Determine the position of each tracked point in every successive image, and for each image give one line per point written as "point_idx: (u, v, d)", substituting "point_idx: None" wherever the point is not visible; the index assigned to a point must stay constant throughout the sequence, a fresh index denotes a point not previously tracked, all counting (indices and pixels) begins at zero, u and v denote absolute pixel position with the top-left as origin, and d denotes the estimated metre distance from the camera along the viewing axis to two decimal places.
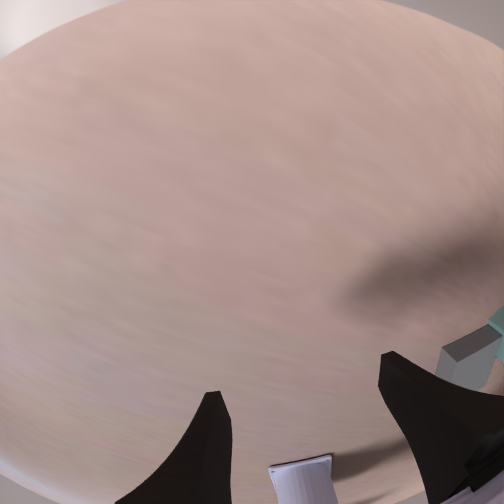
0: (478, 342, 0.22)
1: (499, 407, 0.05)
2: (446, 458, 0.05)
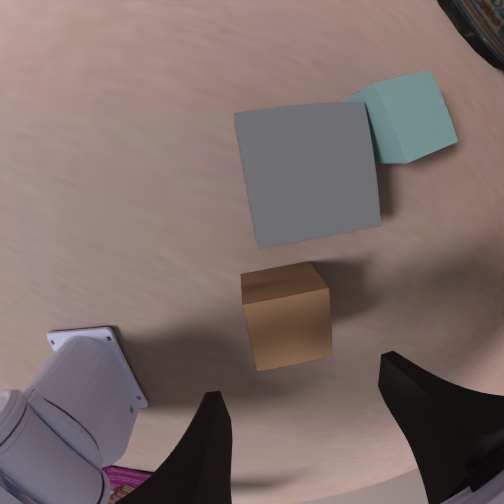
0: None
1: (499, 407, 0.05)
2: (446, 458, 0.05)
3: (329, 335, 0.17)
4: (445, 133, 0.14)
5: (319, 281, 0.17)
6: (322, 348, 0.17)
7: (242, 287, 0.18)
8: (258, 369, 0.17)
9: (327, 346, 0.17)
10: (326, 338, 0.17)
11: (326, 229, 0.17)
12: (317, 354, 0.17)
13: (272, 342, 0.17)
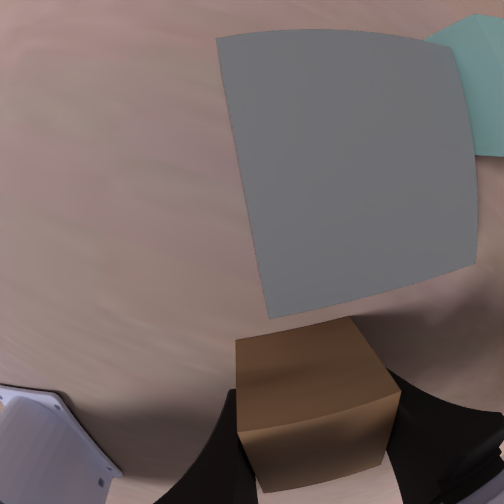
0: None
1: (476, 423, 0.05)
2: (420, 472, 0.05)
3: (383, 447, 0.08)
4: None
5: (380, 372, 0.08)
6: (368, 461, 0.08)
7: (238, 379, 0.09)
8: (266, 491, 0.08)
9: (376, 458, 0.08)
10: (378, 451, 0.08)
11: (399, 276, 0.08)
12: (359, 468, 0.08)
13: (290, 468, 0.08)
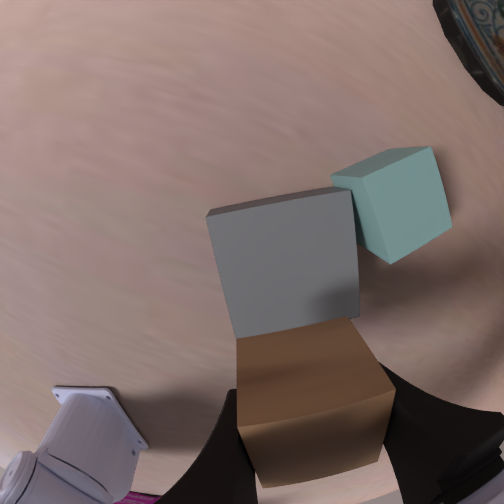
0: (283, 198, 0.16)
1: (476, 424, 0.05)
2: (420, 472, 0.05)
3: (378, 444, 0.08)
4: (438, 221, 0.14)
5: (376, 371, 0.08)
6: (365, 458, 0.08)
7: (238, 376, 0.10)
8: (265, 486, 0.09)
9: (372, 455, 0.08)
10: (374, 447, 0.08)
11: (303, 325, 0.17)
12: (356, 465, 0.09)
13: (288, 463, 0.08)
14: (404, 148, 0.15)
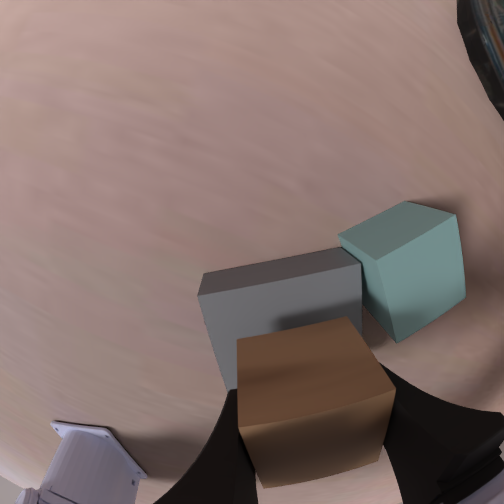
0: (284, 270, 0.14)
1: (476, 423, 0.05)
2: (420, 472, 0.05)
3: (379, 443, 0.08)
4: (452, 294, 0.12)
5: (376, 370, 0.08)
6: (366, 458, 0.08)
7: (238, 376, 0.10)
8: (265, 487, 0.09)
9: (373, 455, 0.08)
10: (374, 447, 0.08)
11: None
12: (356, 465, 0.09)
13: (289, 463, 0.08)
14: (423, 207, 0.13)
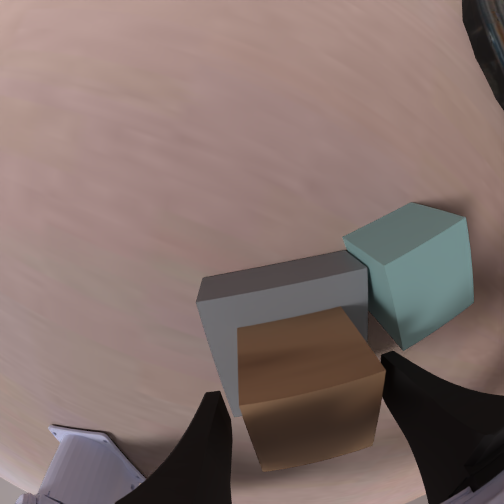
0: (287, 275, 0.14)
1: (499, 407, 0.05)
2: (446, 458, 0.05)
3: (372, 426, 0.09)
4: (461, 300, 0.11)
5: (367, 354, 0.09)
6: (360, 441, 0.09)
7: (239, 360, 0.10)
8: (265, 470, 0.10)
9: (367, 438, 0.09)
10: (368, 430, 0.09)
11: None
12: (352, 448, 0.09)
13: (287, 445, 0.09)
14: (431, 208, 0.13)
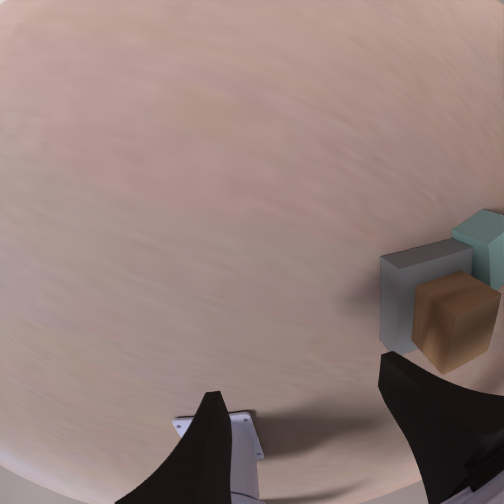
0: (435, 252, 0.19)
1: (499, 407, 0.05)
2: (446, 458, 0.05)
3: (491, 333, 0.14)
4: None
5: (489, 288, 0.14)
6: (484, 345, 0.15)
7: (435, 299, 0.16)
8: (444, 373, 0.15)
9: (487, 343, 0.15)
10: (489, 336, 0.14)
11: None
12: (480, 351, 0.15)
13: (461, 346, 0.14)
14: (497, 213, 0.18)
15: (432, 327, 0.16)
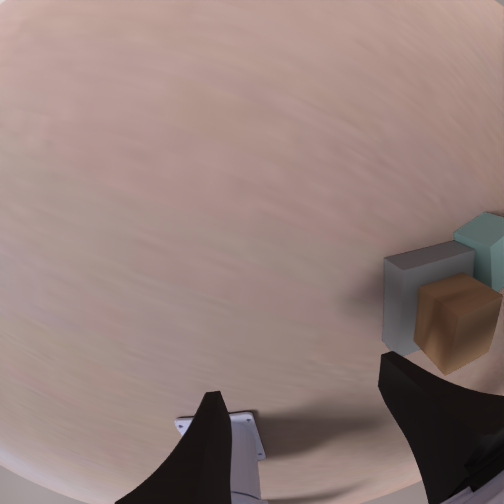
0: (438, 254, 0.19)
1: (499, 407, 0.05)
2: (446, 458, 0.05)
3: (492, 334, 0.14)
4: None
5: (491, 290, 0.15)
6: (486, 346, 0.15)
7: (438, 300, 0.16)
8: (446, 373, 0.15)
9: (488, 344, 0.15)
10: (490, 337, 0.15)
11: None
12: (482, 352, 0.15)
13: (463, 347, 0.14)
14: (498, 216, 0.18)
15: (435, 328, 0.16)
